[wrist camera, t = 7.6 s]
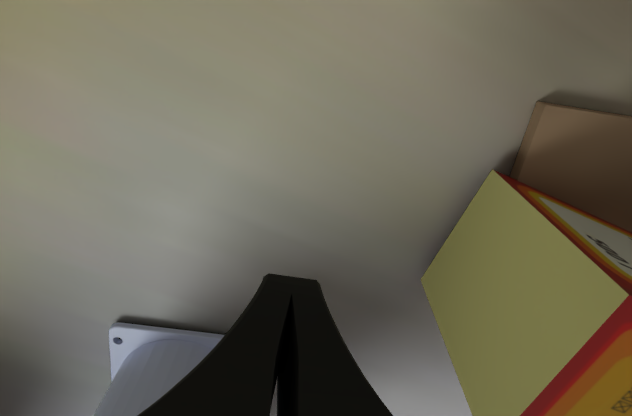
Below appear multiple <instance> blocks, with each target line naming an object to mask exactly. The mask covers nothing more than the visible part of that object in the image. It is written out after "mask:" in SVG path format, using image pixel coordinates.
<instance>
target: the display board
mask: <svg viewBox="0 0 632 416" xmlns="http://www.w3.org/2000/svg"><path fill="white" fill-rule="evenodd" d="M510 177H511V178H513V179H515V180H517V181H520V182H522V183H524V184H526V185H528V186H531V187H533V188H535V189H537V190H539V191H542V192H544V193H546V194H548V195H550V196H553V197H555V198H557V199H559V200H561V201H564V202H566V203H568V204H570V205H572V206H574V207H577V208H579V209H581V210H583V211H585V212H588V213H590V214H592V215H594V216H596V217H599V218H601V219H603V220H605V221H607V222H610V223H612V224H614V225H616V226H618V227H621V228H623V229H625V230H627V231H629V232H632V116H627V115H620V114H614V113H608V112H602V111H595V110H589V109H583V108H577V107H570V106H564V105H558V104H552V103H545V102H539V101H537V102H536V105H535V108H534V110H533V113H532V116H531V119H530V121H529V124H528V127H527V130H526V132H525V135H524V138H523V141H522V143H521V146H520V149H519V152H518V155H517V157H516V160H515V163H514V166H513V168H512V171H511V174H510Z"/></svg>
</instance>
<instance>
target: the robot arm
mask: <svg viewBox="0 0 632 416" xmlns="http://www.w3.org/2000/svg"><path fill="white" fill-rule="evenodd" d="M117 337H119V338H121V339H122V340H121V339H118V338H117ZM109 347H110V364H111V381H112V383H111V384H110V386H109V388H108V390H107V392H106V394H105V395H104V397H103V399H102V401H101V403H100V405H99V406H98V408H97V410H96V412H95V414H94V416H270V408H271V403H272V399H273V394H274V390H275V385H276V380H277V416H393V415H392V414H391V412H390V411H389V410H388V409H387V407H386V406H385V405H384V403H383V402H382V401H381V399H380V398H379V397H378V395H377V394H376V392H375V391H374V390H373V388H372V387H371V385H370V384H369V382H368V381H367V379H366V378H365V376H364V375H363V373H362V372H361V370H360V368H359V367H358V365H357V363H356V362H355V360H354V358H353V357H352V355H351V353H350V352H349V350H348V348H347V346H346V344H345V342H344V341H343V339H342V337H341V335H340V333H339V331H338V329H337V327H336V325H335V322H334V320H333V318H332V316H331V314H330V311H329V309H328V307H327V304H326V302H325V299H324V296H323V293H322V290H321V287H320V284H319V283H318V282H317V280H311V279H304V278H297V277H290V276H283V275H276V274H267V275H266V276H264V277H263V280H262V283H261V285H260V287H259V289H258V290H257V292H256V294H255V295H254V297H253V298H252V300H251V302H250V303H249V305H248V306H247V307H246V309H245V310H244V312H243V313H242V314H241V316H240V317H239V318H238V320H237V321H236V322H235V324H234V325H233V326H232V327H231V329H230V330H229V331H228V332H227V333H226V334H225V335H221V334H213V333H204V332H196V331H188V330H179V329H171V328H162V327H154V326H145V325H137V324H129V323H120V322H119V323H114V324H113V325H112V326H111V327H110V329H109ZM277 376H278V378H277Z"/></svg>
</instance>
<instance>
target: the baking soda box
mask: <svg viewBox="0 0 632 416" xmlns="http://www.w3.org/2000/svg"><path fill="white" fill-rule="evenodd" d="M421 282H422V285H423V288H424V290H425V293H426V295H427V298H428V301H429V303H430V306H431V308H432V311H433V314H434V316H435V319H436V321H437V324H438V327H439V329H440V332H441V334H442V337H443V340H444V342H445V345H446V348H447V350H448V353H449V355H450V358H451V361H452V363H453V366H454V368H455V371H456V374H457V376H458V379H459V381H460V384H461V387H462V389H463V392H464V394H465V397H466V400H467V402H468V405H469V408H470V410H471V413H472V415H473V416H632V232H629V231H627V230H625V229H623V228H621V227H618V226H616V225H614V224H612V223H610V222H607V221H605V220H603V219H601V218H599V217H596V216H594V215H592V214H590V213H588V212H585V211H583V210H581V209H579V208H577V207H574V206H572V205H570V204H568V203H566V202H564V201H561V200H559V199H557V198H555V197H553V196H550V195H548V194H546V193H544V192H542V191H539V190H537V189H535V188H533V187H531V186H528V185H526V184H524V183H522V182H520V181H517V180H515V179H513V178H511V177H509V176H506V175H504V174H502V173H500V172H498V171H495V170H493V169H492V170H491V172H490V174H489V175H488V177H487V178H486V180H485V181H484V183H483V184H482V186H481V187H480V189H479V190H478V192H477V194H476V195H475V197H474V198H473V200H472V201H471V203H470V204H469V206H468V207H467V209H466V210H465V212H464V214H463V215H462V217H461V218H460V220H459V221H458V223H457V224H456V226H455V227H454V229H453V230H452V232H451V234H450V235H449V237H448V238H447V240H446V241H445V243H444V244H443V246H442V247H441V249H440V250H439V252H438V253H437V255H436V257H435V258H434V260H433V261H432V263H431V264H430V266H429V267H428V269H427V270H426V272H425V273H424V275H423V277H422V278H421Z"/></svg>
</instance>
